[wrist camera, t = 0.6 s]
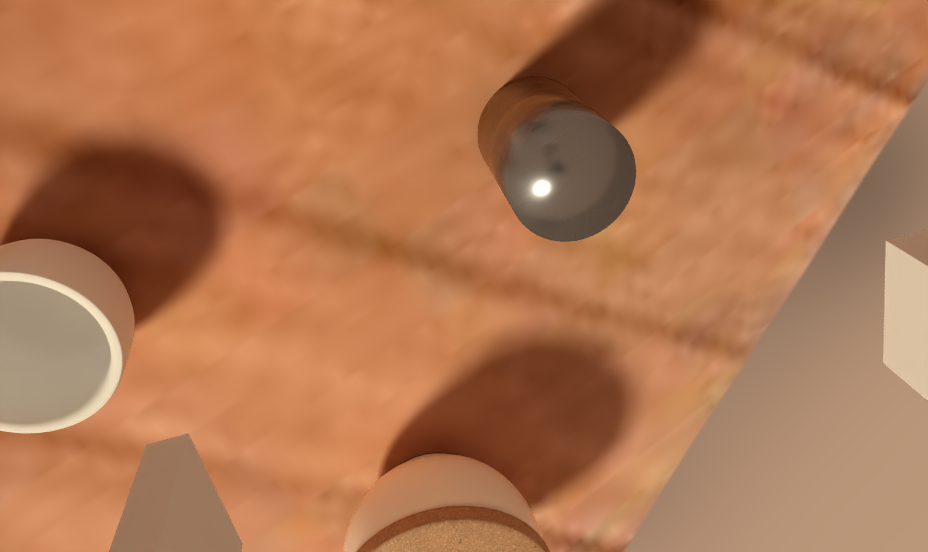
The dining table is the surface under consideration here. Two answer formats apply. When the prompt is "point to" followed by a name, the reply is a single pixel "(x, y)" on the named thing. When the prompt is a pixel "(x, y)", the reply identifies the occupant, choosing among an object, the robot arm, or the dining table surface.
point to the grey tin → (555, 159)
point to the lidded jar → (443, 510)
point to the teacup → (59, 334)
